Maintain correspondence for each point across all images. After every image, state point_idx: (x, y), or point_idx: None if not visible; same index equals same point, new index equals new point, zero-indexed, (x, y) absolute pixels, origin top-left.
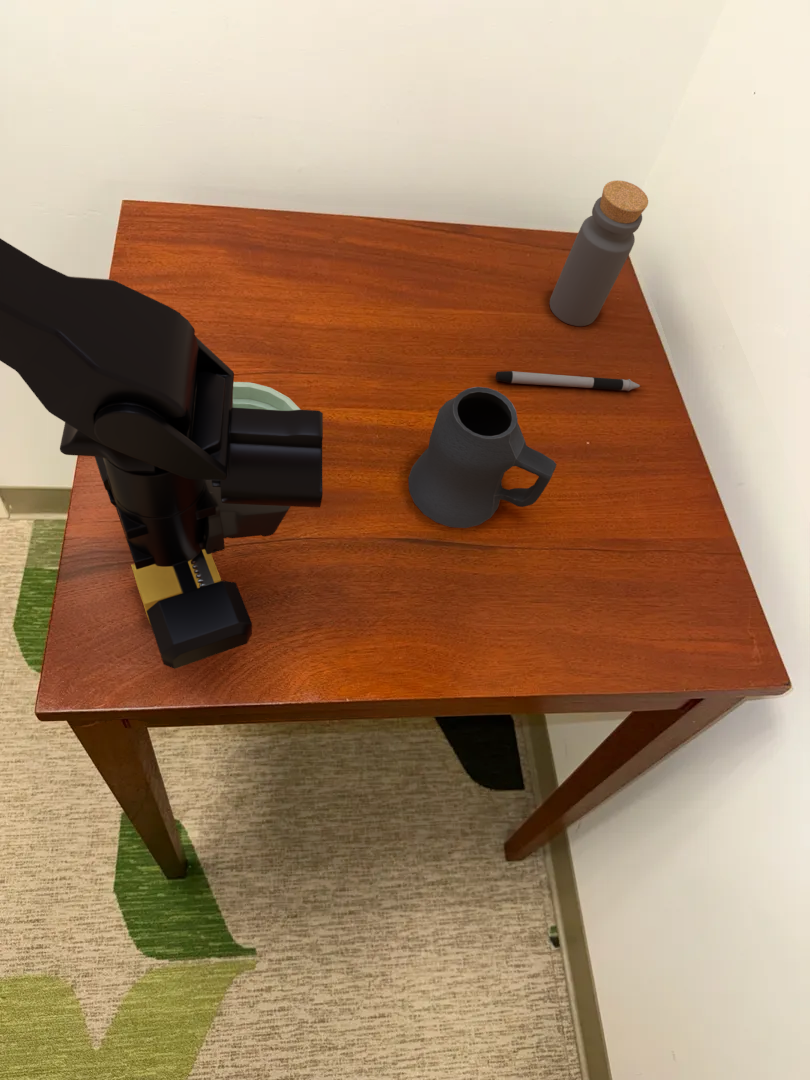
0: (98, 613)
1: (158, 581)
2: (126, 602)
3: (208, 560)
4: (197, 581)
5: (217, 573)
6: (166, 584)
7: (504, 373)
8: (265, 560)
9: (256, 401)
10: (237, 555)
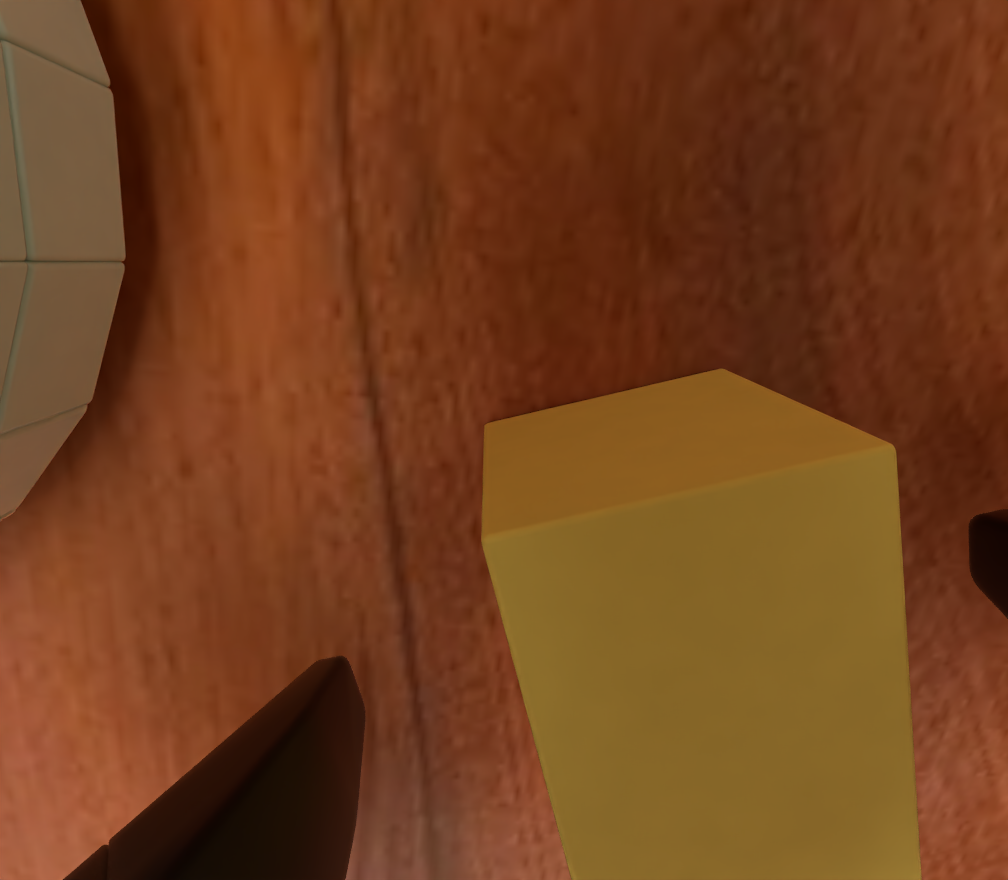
0: None
1: (775, 875)
2: None
3: (669, 536)
4: (856, 634)
5: (827, 473)
6: (822, 837)
7: None
8: (481, 64)
9: None
10: (427, 252)
